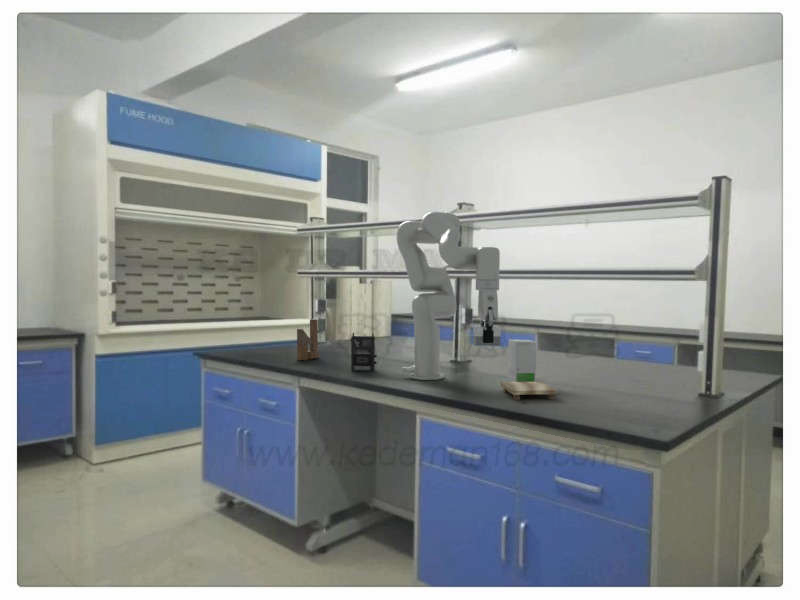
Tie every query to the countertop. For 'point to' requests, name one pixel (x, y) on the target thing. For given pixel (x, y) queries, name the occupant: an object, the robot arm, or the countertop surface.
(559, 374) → the countertop surface
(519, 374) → the skincare box
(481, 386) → the countertop surface
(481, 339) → the housing
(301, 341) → the wooden block
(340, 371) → the countertop surface
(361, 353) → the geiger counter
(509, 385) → the beech stand
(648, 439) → the countertop surface
